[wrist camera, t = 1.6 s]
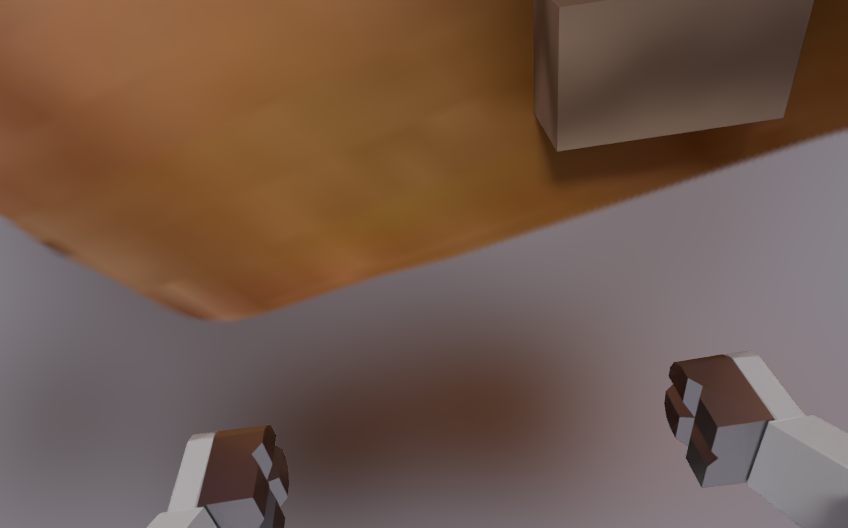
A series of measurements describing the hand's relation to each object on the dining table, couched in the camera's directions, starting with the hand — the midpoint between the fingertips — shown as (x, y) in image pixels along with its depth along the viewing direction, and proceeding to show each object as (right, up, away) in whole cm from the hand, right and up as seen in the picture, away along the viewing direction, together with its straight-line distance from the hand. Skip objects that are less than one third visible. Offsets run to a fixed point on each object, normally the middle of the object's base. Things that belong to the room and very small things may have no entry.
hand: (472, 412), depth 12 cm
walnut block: (+9, +14, +16) cm, 23 cm away
